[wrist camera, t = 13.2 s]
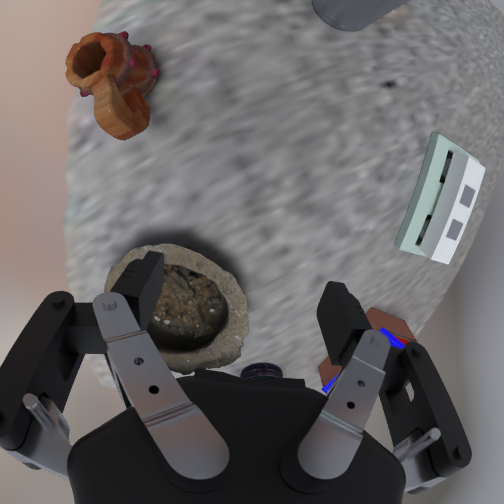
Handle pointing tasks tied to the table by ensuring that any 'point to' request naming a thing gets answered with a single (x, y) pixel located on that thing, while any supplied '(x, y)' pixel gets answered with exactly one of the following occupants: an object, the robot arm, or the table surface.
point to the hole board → (426, 193)
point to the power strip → (452, 207)
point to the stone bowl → (193, 310)
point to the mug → (114, 80)
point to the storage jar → (261, 372)
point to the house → (379, 321)
